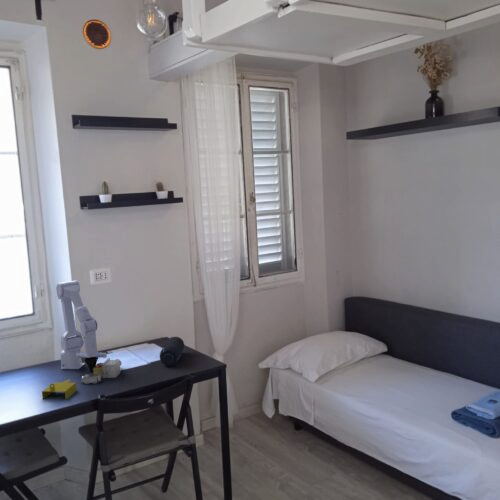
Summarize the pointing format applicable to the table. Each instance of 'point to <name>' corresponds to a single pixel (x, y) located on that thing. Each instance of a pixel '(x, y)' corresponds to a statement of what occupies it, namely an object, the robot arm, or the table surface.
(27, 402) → the table surface
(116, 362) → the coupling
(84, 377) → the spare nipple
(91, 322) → the robot arm
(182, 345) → the portable speaker
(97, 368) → the valve
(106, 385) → the table surface
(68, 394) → the bracket
